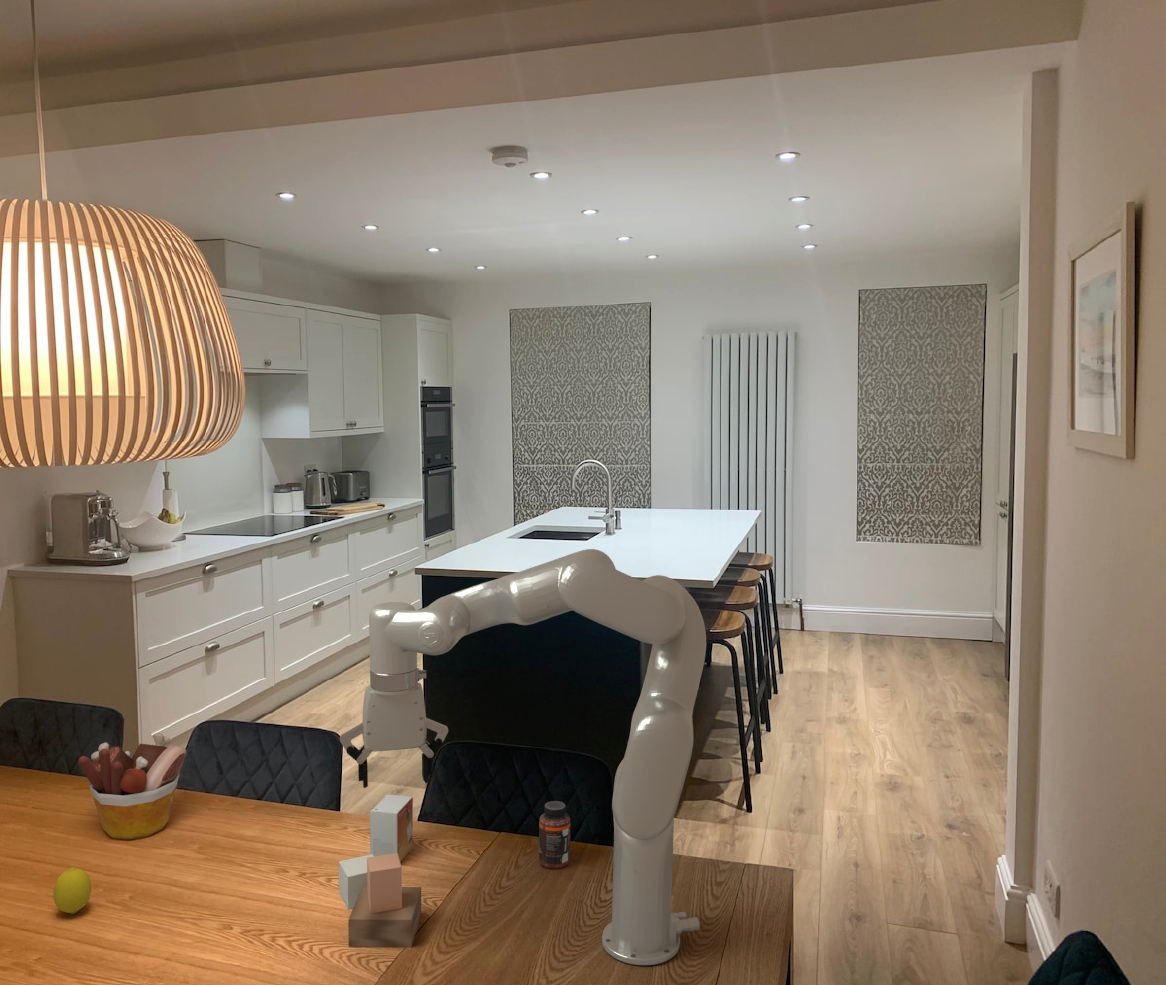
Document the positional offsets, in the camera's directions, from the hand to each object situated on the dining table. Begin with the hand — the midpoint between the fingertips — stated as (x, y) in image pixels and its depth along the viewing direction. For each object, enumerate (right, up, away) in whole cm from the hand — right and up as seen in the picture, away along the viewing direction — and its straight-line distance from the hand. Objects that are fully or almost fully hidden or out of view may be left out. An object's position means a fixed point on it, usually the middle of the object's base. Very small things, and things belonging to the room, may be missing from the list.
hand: (395, 781), depth 149 cm
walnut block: (-2, -25, +1) cm, 25 cm away
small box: (-6, -23, +26) cm, 35 cm away
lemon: (-55, -24, +4) cm, 60 cm away
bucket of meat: (-60, -21, +35) cm, 72 cm away
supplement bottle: (+25, -24, +25) cm, 42 cm away
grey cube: (-8, -24, +11) cm, 28 cm away
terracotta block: (-2, -20, +1) cm, 20 cm away
